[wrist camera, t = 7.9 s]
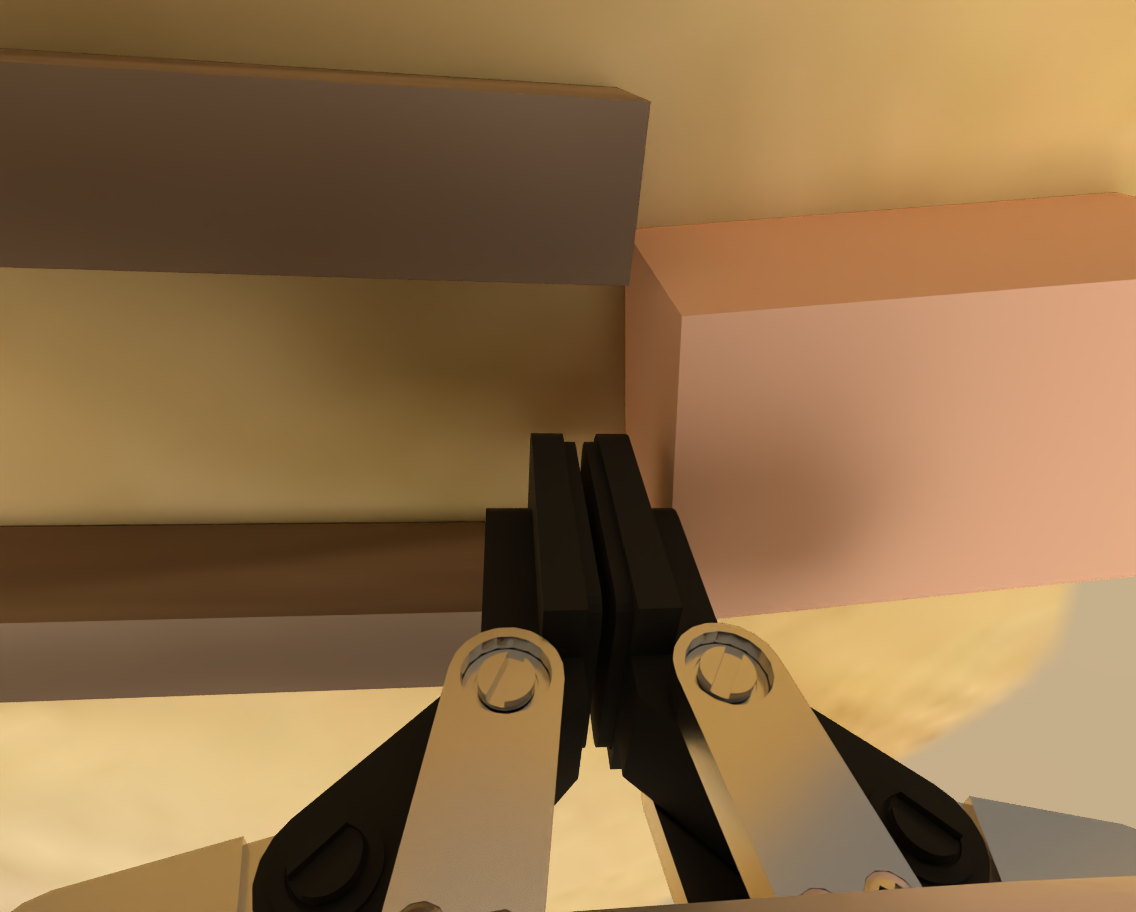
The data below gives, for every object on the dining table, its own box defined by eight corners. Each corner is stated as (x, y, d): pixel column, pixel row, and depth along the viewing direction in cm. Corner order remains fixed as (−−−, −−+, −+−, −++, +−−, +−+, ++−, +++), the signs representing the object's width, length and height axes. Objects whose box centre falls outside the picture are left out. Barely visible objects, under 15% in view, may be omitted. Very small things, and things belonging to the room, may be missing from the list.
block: (622, 225, 12) (682, 316, 8) (1103, 189, 13) (1391, 257, 9) (623, 471, 16) (666, 623, 12) (1005, 436, 16) (1178, 571, 12)
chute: (-461, 19, 9) (-824, 10, 7) (616, 87, 11) (650, 101, 8) (-52, 603, 16) (-156, 708, 13) (572, 590, 17) (583, 680, 15)
